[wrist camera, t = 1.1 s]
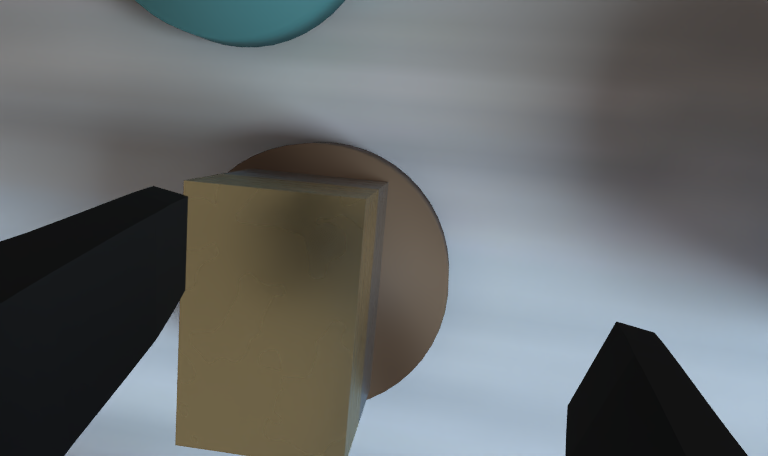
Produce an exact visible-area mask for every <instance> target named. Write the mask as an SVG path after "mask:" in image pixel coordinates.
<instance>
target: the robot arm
mask: <svg viewBox="0 0 768 456" xmlns="http://www.w3.org/2000/svg"><path fill="white" fill-rule="evenodd" d="M187 217H188V196H185V195H182V194H178V193H175V192H172V191H168V190H165V189H161V188H158V187H155V186H153V187H149V188H146V189H143V190H140V191H137V192H134V193H131V194H129V195H126V196H123V197H120V198H118V199H115V200H112V201H110V202H107V203H105V204H102V205H99V206H97V207H94V208H91V209H89V210H86V211H84V212H81V213H78V214H76V215H73V216H70V217H68V218H65V219H62V220H60V221H57V222H54V223H52V224H49V225H46V226H44V227H41V228H38V229H36V230H33V231H30V232H27V233H25V234H22V235H19V236H16V237H13V238H10V239H7V240H4V241H1V242H0V456H64V455H65V454H66V453H67V451H68V450H69V449H70V447H71V446H72V445H73V443H74V442H75V441H76V440H77V438H78V437H79V436H80V435H81V433H82V432H83V431H84V430H85V428H86V427H87V426H88V425H89V423H90V422H91V421H92V420H93V418H94V417H95V416H96V415H97V413H98V412H99V411H100V410H101V408H102V407H103V406H104V405H105V403H106V402H107V401H108V400H109V398H110V397H111V396H112V395H113V393H114V392H115V391H116V390H117V389H118V387H119V386H120V385H121V384H122V382H123V381H124V380H125V379H126V377H127V376H128V375H129V373H130V372H131V371H132V370H133V368H134V367H135V366H136V365H137V363H138V362H139V361H140V359H141V358H142V357H143V356H144V354H145V353H146V352H147V351H148V349H149V348H150V347H151V345H152V344H153V343H154V341H155V340H156V339H157V337H158V336H159V334H160V332H161V331H162V329H163V328H164V326H165V324H166V323H167V321H168V319H169V318H170V316H171V314H172V313H173V311H174V309H175V308H176V306H177V304H178V302H179V301H180V299H181V297H182V295H183V294H184V292H185V285H186V251H187ZM566 456H748V455H747V454H746V453H745V451H744V450H743V449H742V448H741V446H740V445H739V444H738V442H737V441H736V440H735V439H734V437H733V436H732V435H731V433H730V432H729V431H728V429H727V428H726V427H725V425H724V424H723V423H722V421H721V420H720V419H719V417H718V416H717V415H716V413H715V412H714V411H713V409H712V408H711V407H710V405H709V404H708V403H707V401H706V400H705V399H704V397H703V396H702V395H701V393H700V392H699V390H698V389H697V388H696V386H695V385H694V384H693V382H692V381H691V380H690V378H689V377H688V375H687V374H686V373H685V371H684V370H683V369H682V367H681V366H680V365H679V363H678V362H677V361H676V359H675V358H674V357H673V355H672V354H671V353H670V351H669V350H668V349H667V348H666V346H665V345H664V344H663V342H662V341H661V340H660V339H659V338H658V336H657V335H656V334H655V333H654V332H650V331H647V330H643V329H640V328H637V327H633V326H630V325H626V324H623V323H619V322H616V323H615V325H614V327H613V328H612V330H611V332H610V334H609V335H608V337H607V339H606V341H605V342H604V344H603V346H602V347H601V349H600V351H599V353H598V354H597V356H596V358H595V360H594V361H593V363H592V365H591V366H590V368H589V370H588V372H587V373H586V375H585V377H584V379H583V380H582V382H581V384H580V385H579V387H578V389H577V391H576V392H575V394H574V396H573V398H572V399H571V401H570V403H569V404H568V410H567V429H566Z"/></svg>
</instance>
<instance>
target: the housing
mask: <svg viewBox="0 0 768 456" xmlns="http://www.w3.org/2000/svg"><path fill="white" fill-rule="evenodd" d="M388 184H389V182H383V181H373V180H363V179H353V178H343V177H333V176H323V175H312V174H302V173H292V172H282V171H272V170H262V169H246V170H241V171H235V172H229V173H224V174H218V175H212V176H207V177H201V178H195V179H190V180H184V192H183V195H185V196H188V217H187V251H186V285H185V292H184V294H183V295H182V297H181V299H180V317H179V349H178V380H177V412H176V443H175V445H179V446H185V447H192V448H199V449H205V450H212V451H219V452H226V453H232V454H239V455H246V456H348V454H349V451H350V448H351V445H352V442H353V439H354V436H355V433H356V430H357V427H358V424H359V421H360V418H361V414H362V411H363V408H364V405H365V402H366V399H367V396H368V393H369V390H370V385H371V374H372V362H373V351H374V340H375V329H376V318H377V307H378V296H379V284H380V273H381V262H382V251H383V240H384V229H385V217H386V206H387V195H388Z"/></svg>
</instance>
